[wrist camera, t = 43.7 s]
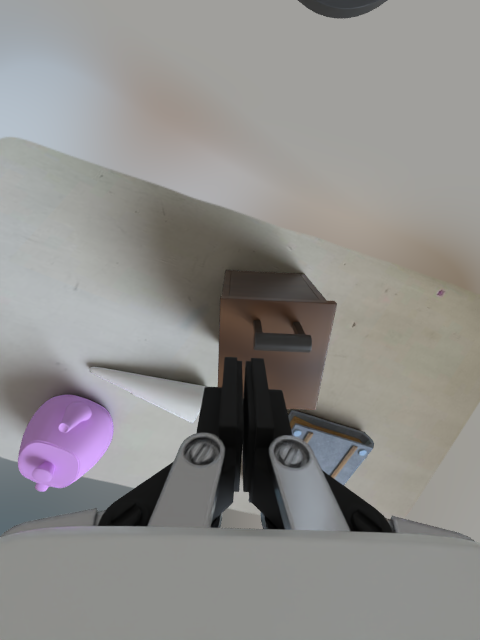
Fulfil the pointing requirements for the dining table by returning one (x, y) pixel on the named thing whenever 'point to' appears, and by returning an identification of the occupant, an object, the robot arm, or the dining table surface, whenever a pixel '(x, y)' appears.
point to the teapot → (64, 441)
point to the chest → (269, 285)
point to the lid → (279, 342)
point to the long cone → (158, 391)
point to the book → (332, 444)
